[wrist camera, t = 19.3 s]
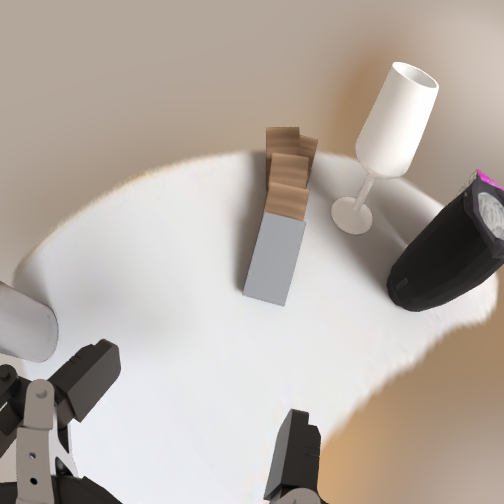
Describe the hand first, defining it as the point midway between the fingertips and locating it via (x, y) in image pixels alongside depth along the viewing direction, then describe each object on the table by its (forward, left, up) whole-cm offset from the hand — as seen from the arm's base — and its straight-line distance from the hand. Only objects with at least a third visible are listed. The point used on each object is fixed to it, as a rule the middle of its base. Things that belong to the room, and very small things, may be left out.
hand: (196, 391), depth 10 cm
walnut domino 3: (+8, +13, -20) cm, 25 cm away
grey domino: (+6, +9, -20) cm, 22 cm away
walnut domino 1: (+12, +23, -20) cm, 33 cm away
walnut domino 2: (+10, +18, -20) cm, 29 cm away
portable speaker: (+26, +5, -21) cm, 34 cm away
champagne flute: (+21, +18, -21) cm, 35 cm away
